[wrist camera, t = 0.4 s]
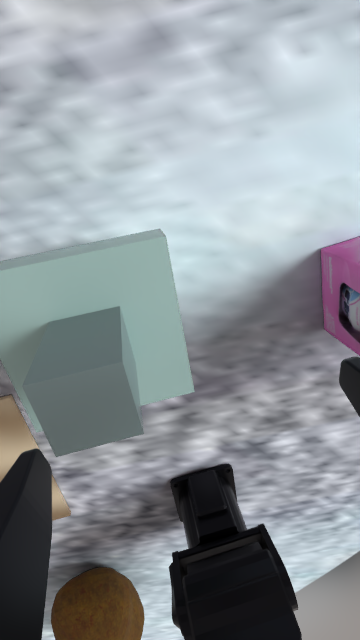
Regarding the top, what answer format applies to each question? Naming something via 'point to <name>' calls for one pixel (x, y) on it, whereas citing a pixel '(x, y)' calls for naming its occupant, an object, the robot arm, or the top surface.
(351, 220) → the top surface
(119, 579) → the potato
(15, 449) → the cork mat
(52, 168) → the top surface
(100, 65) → the top surface
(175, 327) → the lid
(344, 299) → the gum box
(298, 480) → the top surface
